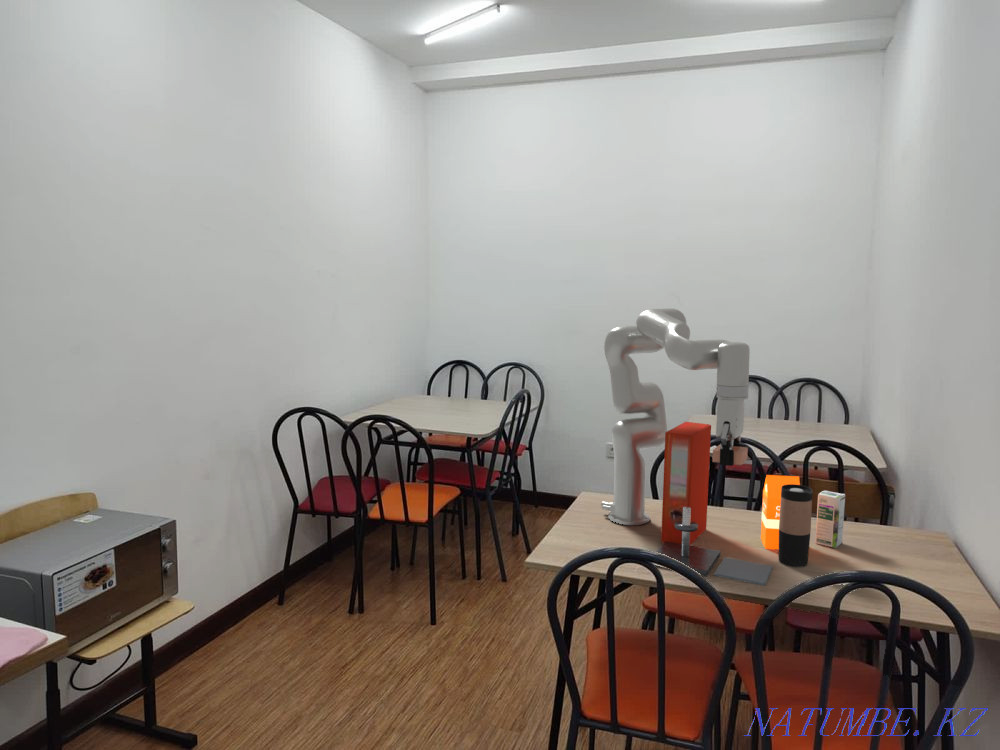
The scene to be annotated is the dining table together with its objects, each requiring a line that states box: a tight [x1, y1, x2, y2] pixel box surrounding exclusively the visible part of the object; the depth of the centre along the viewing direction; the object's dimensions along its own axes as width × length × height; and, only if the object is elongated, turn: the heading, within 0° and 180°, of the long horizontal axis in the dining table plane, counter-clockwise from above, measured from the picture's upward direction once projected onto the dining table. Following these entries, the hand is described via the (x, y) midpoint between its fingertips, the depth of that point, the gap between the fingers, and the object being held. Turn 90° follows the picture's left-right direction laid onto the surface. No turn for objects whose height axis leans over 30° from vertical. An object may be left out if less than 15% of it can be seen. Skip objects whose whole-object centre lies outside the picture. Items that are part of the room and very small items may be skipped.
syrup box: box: [814, 490, 846, 549], centre depth 198 cm, size 6×6×14 cm
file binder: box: [660, 421, 712, 546], centre depth 203 cm, size 8×17×32 cm, turn 148°
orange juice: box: [760, 474, 801, 551], centre depth 196 cm, size 8×9×20 cm
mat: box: [713, 557, 774, 587], centre depth 179 cm, size 12×12×1 cm
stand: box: [655, 507, 722, 577], centre depth 186 cm, size 15×15×14 cm
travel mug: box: [778, 484, 813, 568], centre depth 184 cm, size 8×8×20 cm
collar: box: [712, 444, 749, 466], centre depth 178 cm, size 7×7×3 cm
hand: (730, 461), depth 178 cm, fingers closed on collar, 7 cm apart
